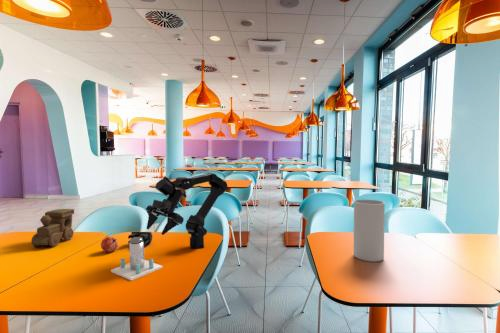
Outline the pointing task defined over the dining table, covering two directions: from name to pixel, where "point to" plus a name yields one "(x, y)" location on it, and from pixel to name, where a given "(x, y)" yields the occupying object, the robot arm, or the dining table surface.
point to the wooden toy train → (54, 228)
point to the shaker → (136, 252)
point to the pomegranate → (109, 244)
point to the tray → (133, 272)
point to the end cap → (145, 235)
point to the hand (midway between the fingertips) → (154, 231)
